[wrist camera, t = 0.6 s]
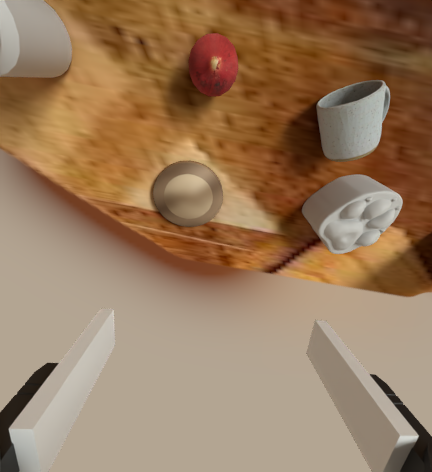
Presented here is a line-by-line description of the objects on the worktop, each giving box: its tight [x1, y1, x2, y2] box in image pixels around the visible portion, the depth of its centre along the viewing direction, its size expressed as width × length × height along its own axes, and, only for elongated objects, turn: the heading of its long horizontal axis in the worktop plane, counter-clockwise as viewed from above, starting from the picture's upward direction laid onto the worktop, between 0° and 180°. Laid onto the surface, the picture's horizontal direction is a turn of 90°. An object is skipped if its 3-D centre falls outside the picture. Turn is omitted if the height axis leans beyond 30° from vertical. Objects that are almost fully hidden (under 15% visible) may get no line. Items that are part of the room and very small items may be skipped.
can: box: [0, 0, 72, 78], centre depth 21 cm, size 8×8×12 cm
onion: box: [188, 33, 238, 97], centre depth 25 cm, size 6×6×8 cm
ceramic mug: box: [316, 80, 390, 162], centre depth 30 cm, size 11×8×8 cm
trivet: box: [153, 161, 223, 227], centre depth 38 cm, size 12×12×1 cm
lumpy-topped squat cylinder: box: [302, 175, 402, 254], centre depth 38 cm, size 10×13×9 cm
